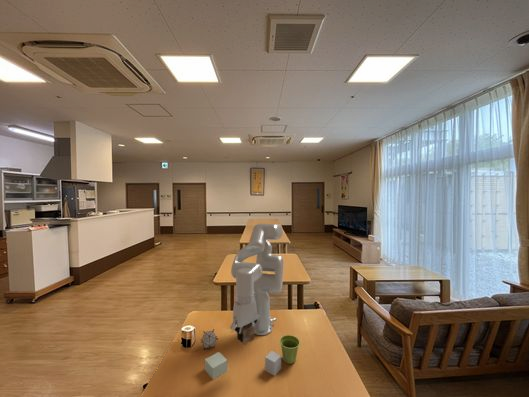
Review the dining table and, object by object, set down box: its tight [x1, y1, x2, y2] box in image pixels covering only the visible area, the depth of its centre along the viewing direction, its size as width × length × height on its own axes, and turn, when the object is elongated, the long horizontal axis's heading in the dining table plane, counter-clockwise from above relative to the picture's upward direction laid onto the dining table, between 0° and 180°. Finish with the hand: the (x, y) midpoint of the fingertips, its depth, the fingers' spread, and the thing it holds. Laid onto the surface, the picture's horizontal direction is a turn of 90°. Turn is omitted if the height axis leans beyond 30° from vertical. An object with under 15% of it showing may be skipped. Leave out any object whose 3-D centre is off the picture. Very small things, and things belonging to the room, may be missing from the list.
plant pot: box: [279, 334, 301, 365], centre depth 108 cm, size 9×9×9 cm
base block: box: [204, 351, 228, 380], centre depth 101 cm, size 7×7×5 cm
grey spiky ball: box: [200, 329, 219, 351], centre depth 116 cm, size 9×8×10 cm
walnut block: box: [239, 323, 255, 345], centre depth 101 cm, size 5×5×6 cm
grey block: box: [264, 350, 282, 376], centre depth 102 cm, size 5×5×6 cm
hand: (245, 337), depth 101 cm, fingers closed on walnut block, 5 cm apart
